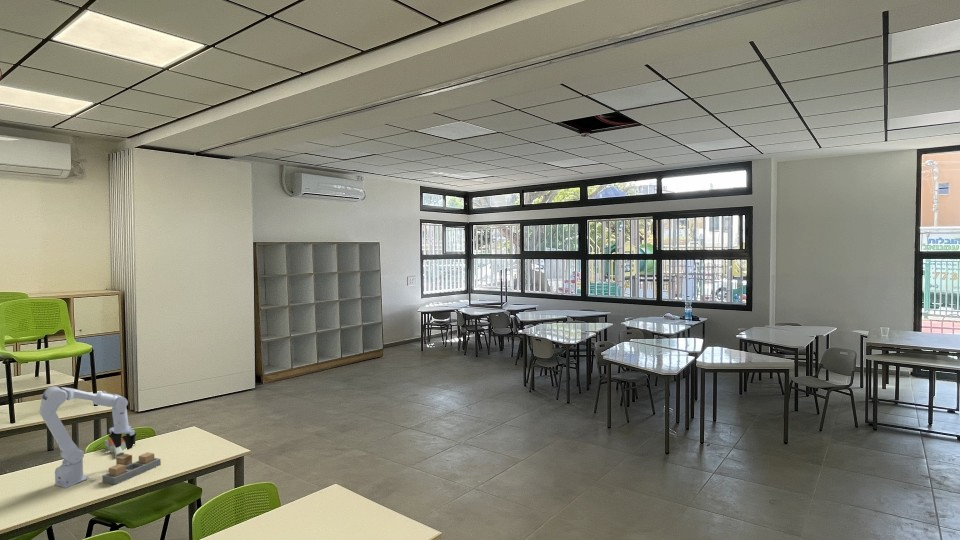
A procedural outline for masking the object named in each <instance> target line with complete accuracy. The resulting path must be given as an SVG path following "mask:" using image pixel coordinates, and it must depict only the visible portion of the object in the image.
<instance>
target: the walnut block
mask: <svg viewBox="0 0 960 540" xmlns="http://www.w3.org/2000/svg"><path fill="white" fill-rule="evenodd" d="M115 461H116V462H115V465H117V464H121V465H126V466H127V465H129V464H131V463H133V455H132V454H127V453H125V454H124V455H121V456H118V457H116V458H115Z"/></svg>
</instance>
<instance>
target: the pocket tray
mask: <svg viewBox="0 0 960 540" xmlns="http://www.w3.org/2000/svg"><path fill="white" fill-rule="evenodd" d="M161 460H162V459H161V458H157V457H155V453H152V452H145V453H142V454H140V455H138V460H136V461H133V462H132V463H131V464H129V465H127V466H126V465H121V464H117V465H116V464H115V465H112V466H111V467H108V473H104V474H103V475H102V483H105V484H109V485H113V486H116V485H118V484H120V483H122V482H125V481H127V480H130V479H132V478H134V477H136V476H139V475H141V474H143V473H145V471H146V472H148V471H150V470H153V469H154V467H155V468H157V467H159V466H161V463H162V462H161ZM156 466H157V467H156ZM147 470H148V471H147ZM142 472H143V473H142ZM140 473H141V474H140Z"/></svg>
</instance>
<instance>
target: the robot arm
mask: <svg viewBox="0 0 960 540" xmlns="http://www.w3.org/2000/svg"><path fill="white" fill-rule="evenodd" d="M72 399H78V400H86V401H90V402H91V401H92V403H93V404H94V405H97V406H101V407H102V406H103V407H107V408H110V407H111V411H112V413H111V415H112V421H113V426H112V427H110V428H109V430H108V431H109V434H108V438H109V439H112V441H113V443H114V445H115V447H116V448H118V447H120V446H121V440H123V439H124V441H125V444H126V448H127V449H126V450H127V451H128V450H131V449H133V441H134V438H135V439H136V436H137V433H136V431H135V430H134V429H132V426H131V425H130V424H129V418H128V409H127V406H128V404H129V401H128V399H127V398H126V397H124V396H121V395H119V394H117V393H113V394H112V393H108V392H107V391H104V390H102V391H98V392H95V393H93V392H88V391H84V390H80V389H76V388H72V387H65V386H64V387H63V386H60V387H58V386H55V385H54V386H49V387H47V388H46V389H45V390H44V392H43V393H42V394H41V399H40V400H41V401H40V407H39V415H40V417H41V419H42V420H43V421H44V422H45V425H46V427H47V428H48V430H49V431H50V433H51V435H52V437H53V438H54V440H55V441H56V444H58V449H60V458H62V462H61V465H59V466H58V467H55V469H54V482H55V483H54V485H53V486H56V487H61V488H65V489H66V488H69V487H71V486H73V485H74V486H75V485H76V484H78V483H81V482H84V481H86V480H88V479H89V477H87V476H84V463H83V462H84V461H83V460H84V457H85V452H84V450H82V449H80V448H79V447H78V446H77V444H76V443H75V442H74V441H73V439H72V438H71V435H70V434H69V432H68V430H67V429H66V427H65V425H64V424H63V423H62V420H61V419H60V418H59V415H58V414H57V411H58V409H59V408H60V406H61V405H62V404H64V403H65V402H66V401H70V400H72ZM121 436H123V437H122V438H121Z"/></svg>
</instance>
